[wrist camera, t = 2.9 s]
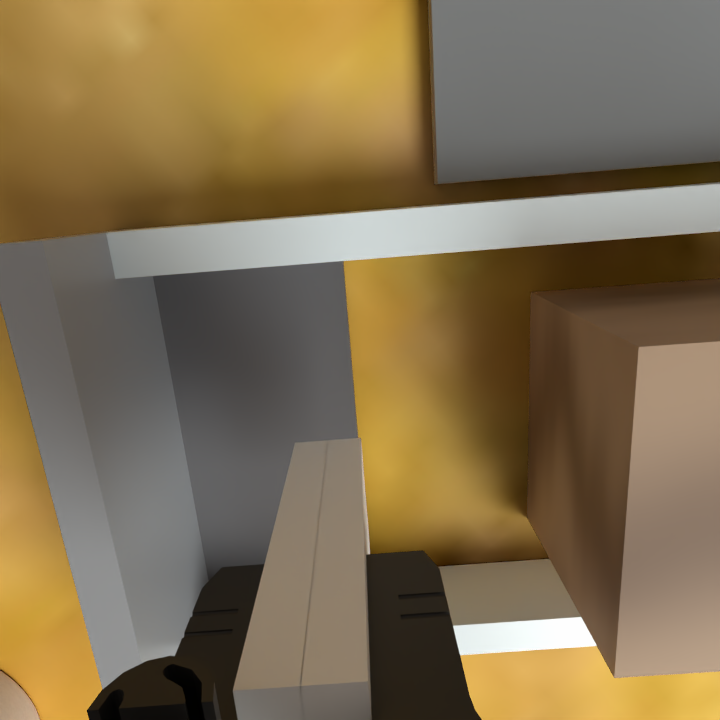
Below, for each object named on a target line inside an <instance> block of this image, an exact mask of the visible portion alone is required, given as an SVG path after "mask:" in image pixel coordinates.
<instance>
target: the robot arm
mask: <svg viewBox="0 0 720 720" xmlns="http://www.w3.org/2000/svg"><path fill="white" fill-rule="evenodd" d="M192 613H193V614H192V617H190V619H189V622H188V624H187V627H186V629H185V632H184V638H182V639H181V642H180V644H179V647H178V649H177V652H176V654H175V656H166V657H162V658H157V659H153V660H148V661H146V662H143V663H141V664H139V665H137V666H135V667H133V668H131V669H129V670H127V671H125V672H123V673H122V674H121V675H120V676H118V677H117V678H116V679H115V680H114V681H112V682H111V683H110V684H109V685H107V686H106V687H105V688H104V689H102V691H101V692H100V694H99V695H98V696H97V698H96V699H95V700H94V702H93V703H92V704H91V706H90V707H89V708H88V710H87V713H88V717H89V720H482V719H481V718H480V717H479V715H478V714H477V712H476V711H475V709H474V706H473V704H472V701H471V698H470V696H469V692H468V687H467V683H466V679H465V675H464V670H463V666H462V662H461V658H460V653H459V649H458V645H457V641H456V636H455V632H454V628H453V624H452V620H451V616H450V611H449V607H448V603H447V598H446V596H445V590H444V586H443V581H442V577H441V573H440V569H439V568H438V566H437V565H436V564H435V563H434V562H433V561H432V560H431V559H430V558H429V556H428V555H427V554H426V553H425V552H424V551H409V552H395V553H381V554H370V542H369V529H368V517H367V505H366V493H365V481H364V469H363V457H362V445H361V438H352V439H338V440H325V441H312V442H298V443H295V445H294V449H293V453H292V457H291V461H290V465H289V469H288V473H287V477H286V481H285V485H284V489H283V493H282V497H281V501H280V505H279V509H278V513H277V517H276V521H275V525H274V529H273V533H272V537H271V541H270V545H269V549H268V553H267V556H266V560H265V564H259V565H245V566H231V567H222V568H221V569H220V570H219V571H218V572H217V573H216V574H215V575H214V576H213V577H212V578H211V579H210V580H209V581H208V582H207V583H206V584H205V585H204V587H203V588H202V589H201V592H200V594H199V597H198V599H197V602H196V604H195V607H194V609H193V612H192Z"/></svg>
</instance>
